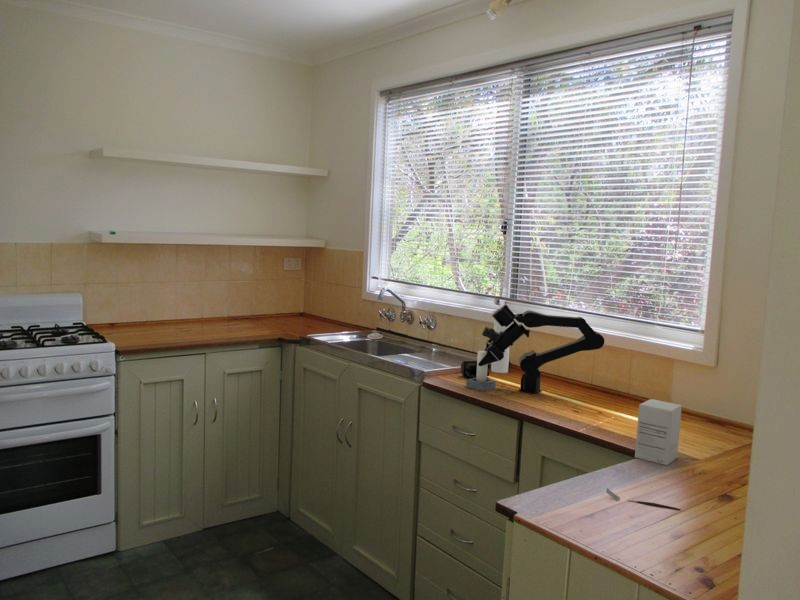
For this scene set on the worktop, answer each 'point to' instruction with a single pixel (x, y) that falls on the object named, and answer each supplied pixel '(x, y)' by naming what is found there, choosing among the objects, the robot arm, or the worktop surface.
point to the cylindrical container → (503, 363)
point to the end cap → (470, 369)
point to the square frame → (481, 384)
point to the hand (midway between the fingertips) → (478, 362)
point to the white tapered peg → (481, 368)
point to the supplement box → (658, 431)
